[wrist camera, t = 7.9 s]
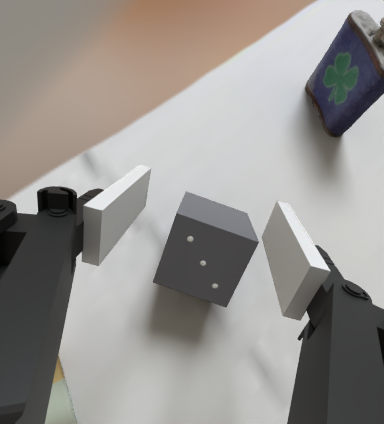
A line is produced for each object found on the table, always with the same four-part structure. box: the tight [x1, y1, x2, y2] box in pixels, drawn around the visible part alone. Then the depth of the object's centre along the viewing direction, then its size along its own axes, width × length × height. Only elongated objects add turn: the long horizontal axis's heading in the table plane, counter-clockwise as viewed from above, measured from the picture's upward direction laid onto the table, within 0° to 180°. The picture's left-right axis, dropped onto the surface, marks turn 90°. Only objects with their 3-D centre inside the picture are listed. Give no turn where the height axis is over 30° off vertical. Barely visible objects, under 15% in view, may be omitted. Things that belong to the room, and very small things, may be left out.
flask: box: [306, 10, 384, 137], centre depth 26 cm, size 9×3×11 cm, turn 12°
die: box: [153, 192, 259, 307], centre depth 20 cm, size 6×6×6 cm
